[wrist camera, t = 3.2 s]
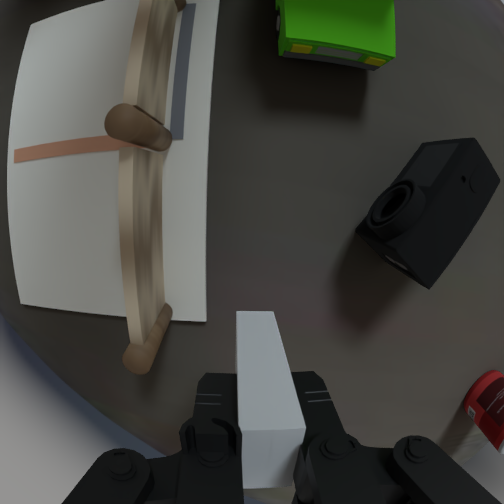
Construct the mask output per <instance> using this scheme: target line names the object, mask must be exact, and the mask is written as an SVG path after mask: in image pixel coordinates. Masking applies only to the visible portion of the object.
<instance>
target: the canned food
mask: <svg viewBox="0 0 504 504" xmlns="http://www.w3.org/2000/svg"><path fill="white" fill-rule="evenodd" d="M464 408H465V411H466V413H467V414H468V415H469V416H470V417H471V419H472V420H473V421H474V422H475V423H476V425H477V426H478V427H479V428H480V430H481V431H482V432H483V433H484V435H485V436H486V437H487V438H488V440H489V441H490V442H491V443H492V444H493V446H494V447H495V448H496V449H497V450H498V452H499V453H500V454H504V375H503V374H502V373H500V372H499V371H496V370H491V371H489V372H487V373H485V374H484V375H482V376H481V377H480V378H479V379H478V380H477V381H476V382H475V383H474V384H473V386H472V387H471V388H470V390H469V392H468V393H467V395H466V398H465V400H464Z"/></svg>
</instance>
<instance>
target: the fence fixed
mask: <svg viewBox="0 0 504 504" xmlns="http://www.w3.org/2000/svg"><path fill="white" fill-rule="evenodd" d="M186 4H187V2H186V0H140V1H139V6H138V10H137V14H136V19H135V24H134V29H133V34H132V39H131V45H130V51H129V57H128V63H127V70H126V78H125V86H124V94H123V103H122V104H118V105H116V106H114V107H113V108H112V109H111V110H110V111H109V112H108V113H107V115H106V118H105V122H104V127H105V131H106V133H107V134H108V135H109V136H110V137H112V138H114V139H117V140H121V141H124V142H128V143H131V144H135V145H138V146H141V147H145V148H148V149H151V150H154V151H158V152H161V151H165V150H167V149H168V148H169V147H170V145H171V144H172V134H171V132H170V131H169V130H168V129H166V128H165V127H163V126H162V125H165V114H166V101H167V89H168V79H169V70H170V61H171V53H172V45H173V38H174V31H175V24H176V18H177V13H178V12H180V11H182V10H183V9H184V8H185V6H186Z"/></svg>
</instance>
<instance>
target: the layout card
mask: <svg viewBox="0 0 504 504" xmlns="http://www.w3.org/2000/svg"><path fill="white" fill-rule="evenodd" d="M139 1H140V0H105V1H101V2H97V3H93V4H90V5H86V6H83V7H79V8H76V9H73V10H70V11H66V12H63V13H60V14H58V15H55V16H52V17H49V18H47V19H44V20H41V21H39V22H36V23H34V24H31V26H30V29H29V33H28V36H27V39H26V43H25V47H24V50H23V54H22V58H21V63H20V67H19V72H18V76H17V82H16V87H15V93H14V99H13V106H12V113H11V121H10V131H9V144H8V164H7V198H8V218H9V231H10V241H11V250H12V257H13V264H14V271H15V277H16V282H17V288H18V293H19V298H20V302H21V304H26V305H33V306H39V307H46V308H53V309H61V310H68V311H76V312H85V313H94V314H103V315H114V316H125V317H127V316H126V308H125V299H124V290H123V280H122V269H121V255H120V238H119V209H118V173H119V148H120V147H137V148H141V149H144V150H148V151H151V152H155V153H158V154H162V155H163V177H162V240H163V270H164V289H165V302H166V303H167V304H169V305H170V306H171V308H172V311H173V315H172V318H171V320H182V321H203V322H206V319H207V307H206V217H207V176H208V150H209V128H210V110H211V94H212V80H213V67H214V55H215V43H216V32H217V22H218V13H219V4H220V0H186V2H187V4H186V6H185V8H184V9H183V10H182V11H180V12H178V13H177V18H176V24H175V31H174V38H173V45H172V53H171V61H170V70H169V79H168V89H167V101H166V114H165V125H162V126H163V127H165V128H166V129H168V130H169V131H170V132H171V134H172V144H171V145H170V147H169V148H168V149H167V150H165V151H161V152H158V151H154V150H151V149H148V148H145V147H141V146H138V145H135V144H131V143H128V142H124V141H121V140H117V139H114V138H112V137H110V136H109V135H108V134H107V133H106V131H105V127H104V122H105V118H106V115H107V113H108V112H109V111H110V110H111V109H112V108H113V107H114V106H116V105H118V104H122V103H123V94H124V86H125V78H126V70H127V63H128V57H129V51H130V45H131V39H132V34H133V29H134V24H135V19H136V14H137V10H138V6H139Z"/></svg>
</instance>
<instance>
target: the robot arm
mask: <svg viewBox="0 0 504 504" xmlns="http://www.w3.org/2000/svg"><path fill="white" fill-rule="evenodd" d="M235 366H236V374H226V373H206V374H205V375H204V376H203V377H202V378H201V379H200V381H199V382H198V387H197V395H196V400H195V406H194V413H193V417H192V418H190V419H189V420H188V421H186V422H185V423H184V424H183V425H182V427H181V429H180V431H179V435H180V441H181V446H182V450H181V451H179V452H178V453H176V454H174V455H171V456H167V457H161V458H153V459H145V457H144V456H143V455H141V454H140V453H138V452H136V451H134V450H130V449H125V448H120V449H112V450H110V451H107V452H104V453H103V454H102V455H101V456H100V457H98V458H97V460H96V461H95V462H94V463H93V465H92V466H91V467H90V469H89V470H88V471H87V472H86V474H85V475H84V476H83V477H82V479H81V480H80V481H79V482H78V484H77V485H76V486H75V488H74V489H73V490H72V491H71V493H70V494H69V495H68V497H67V498H66V499H65V500H64V501H63V503H62V504H244V496H243V488H273V487H287V486H291V485H292V481H293V478H294V483H295V488H296V492H295V495H294V498H293V501H292V504H502V503H500V502H499V501H498V500H497V499H496V498H495V497H493V496H492V495H491V494H490V493H489V492H488V491H487V490H486V489H485V488H484V487H482V486H481V485H480V484H479V483H478V482H477V481H476V480H475V479H474V478H473V477H471V476H470V475H469V474H468V473H467V472H466V471H465V470H464V469H462V467H460V466H459V465H458V464H457V463H456V462H455V461H454V460H453V459H452V458H451V457H449V456H448V455H447V454H446V453H445V452H444V451H443V450H442V449H441V448H440V447H439V446H438V445H436V444H435V443H434V442H433V441H431V440H430V439H428V438H426V437H422V436H407V437H404V438H402V439H400V440H399V441H398V442H397V443H396V444H395V446H394V448H374V447H367V446H363V445H360V443H359V442H358V440H357V439H356V438H354V437H352V436H351V435H349V434H346V432H345V431H344V428H343V426H342V423H341V421H340V419H339V416H338V414H337V412H336V409H335V407H334V404H333V402H332V400H331V397H330V395H329V393H328V392H327V388H326V385H325V383H324V381H323V379H322V378H321V377H319V376H318V375H317V374H316V373H315V372H314V371H307V372H290V369H289V365H288V362H287V358H286V355H285V351H284V348H283V344H282V340H281V337H280V333H279V330H278V326H277V323H276V319H275V316H274V312H270V311H237V315H236V365H235Z"/></svg>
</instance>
